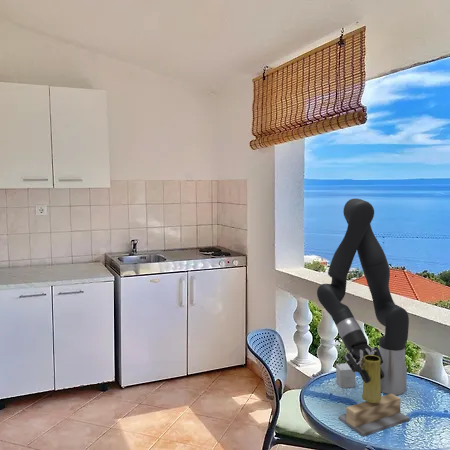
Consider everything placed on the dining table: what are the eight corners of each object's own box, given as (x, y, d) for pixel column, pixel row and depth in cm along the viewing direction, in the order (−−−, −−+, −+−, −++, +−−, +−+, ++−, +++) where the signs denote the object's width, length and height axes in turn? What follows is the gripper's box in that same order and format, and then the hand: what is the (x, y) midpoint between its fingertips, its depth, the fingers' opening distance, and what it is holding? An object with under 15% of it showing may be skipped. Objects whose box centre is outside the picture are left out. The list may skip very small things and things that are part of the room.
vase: (382, 403, 153) (382, 362, 151) (362, 402, 154) (363, 361, 152) (379, 394, 159) (380, 354, 157) (361, 393, 160) (361, 353, 158)
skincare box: (355, 387, 181) (355, 369, 180) (340, 388, 181) (340, 370, 180) (350, 380, 187) (350, 362, 186) (335, 381, 187) (335, 363, 186)
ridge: (383, 404, 168) (383, 388, 167) (409, 420, 157) (409, 403, 156) (338, 418, 159) (338, 402, 158) (363, 436, 148) (363, 418, 148)
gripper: (340, 332, 158) (364, 380, 148) (372, 325, 164) (398, 371, 155) (329, 342, 163) (352, 389, 154) (361, 335, 169) (385, 380, 160)
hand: (375, 380), depth 154 cm, fingers closed on vase, 5 cm apart
